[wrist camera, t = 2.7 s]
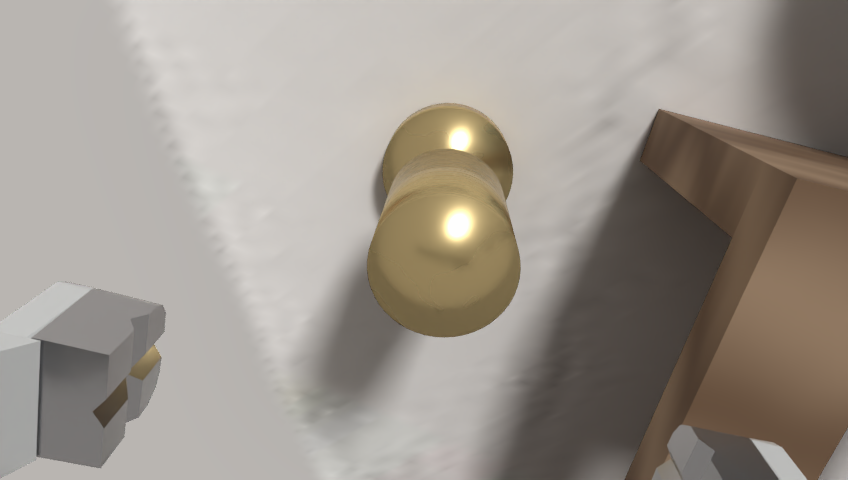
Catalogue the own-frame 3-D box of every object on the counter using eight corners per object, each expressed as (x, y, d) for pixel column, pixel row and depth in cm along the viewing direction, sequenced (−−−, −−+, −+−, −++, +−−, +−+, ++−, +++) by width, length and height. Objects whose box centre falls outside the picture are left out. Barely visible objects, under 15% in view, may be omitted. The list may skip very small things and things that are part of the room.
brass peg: (525, 120, 24) (574, 198, 14) (490, 237, 25) (513, 377, 16) (401, 89, 23) (364, 146, 14) (374, 209, 25) (324, 333, 16)
